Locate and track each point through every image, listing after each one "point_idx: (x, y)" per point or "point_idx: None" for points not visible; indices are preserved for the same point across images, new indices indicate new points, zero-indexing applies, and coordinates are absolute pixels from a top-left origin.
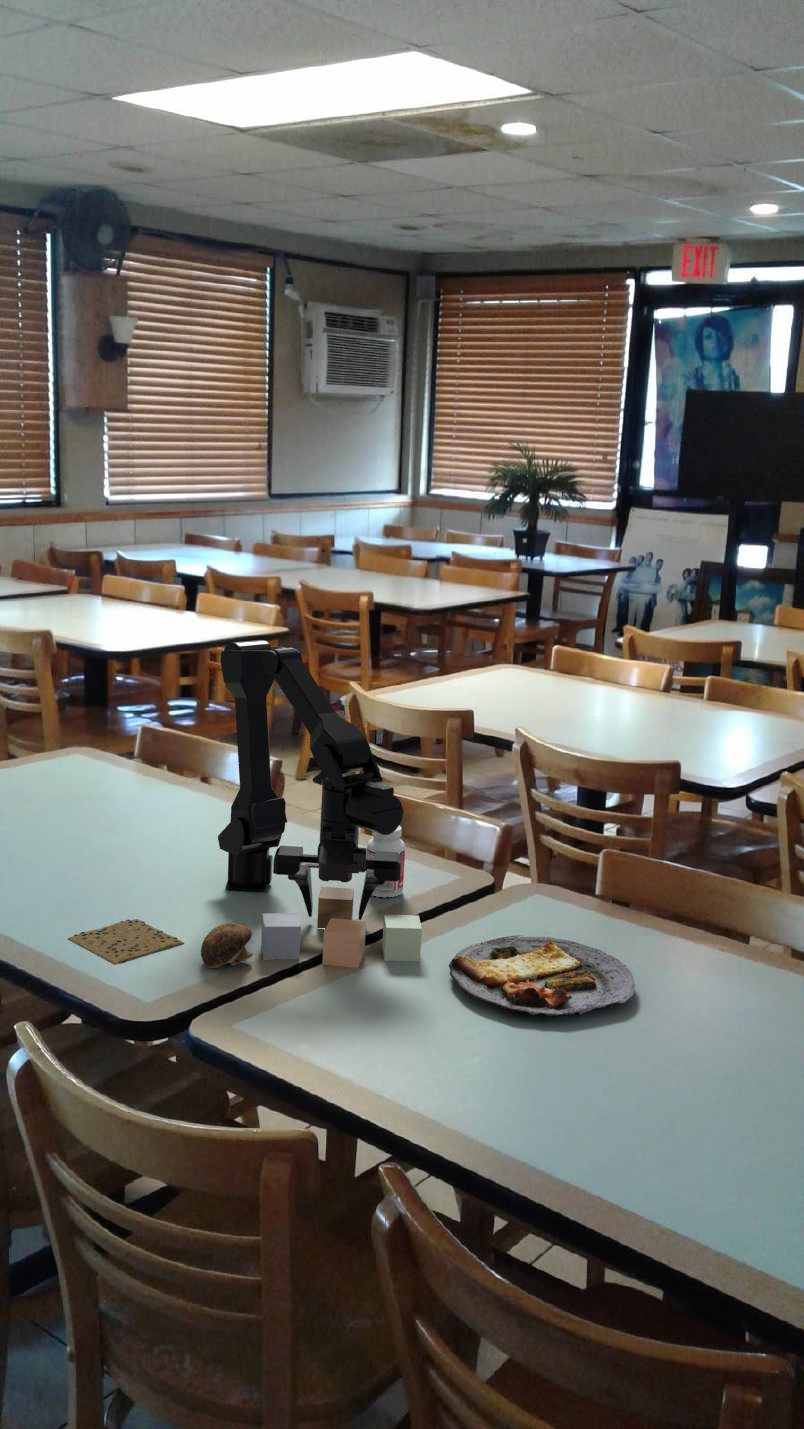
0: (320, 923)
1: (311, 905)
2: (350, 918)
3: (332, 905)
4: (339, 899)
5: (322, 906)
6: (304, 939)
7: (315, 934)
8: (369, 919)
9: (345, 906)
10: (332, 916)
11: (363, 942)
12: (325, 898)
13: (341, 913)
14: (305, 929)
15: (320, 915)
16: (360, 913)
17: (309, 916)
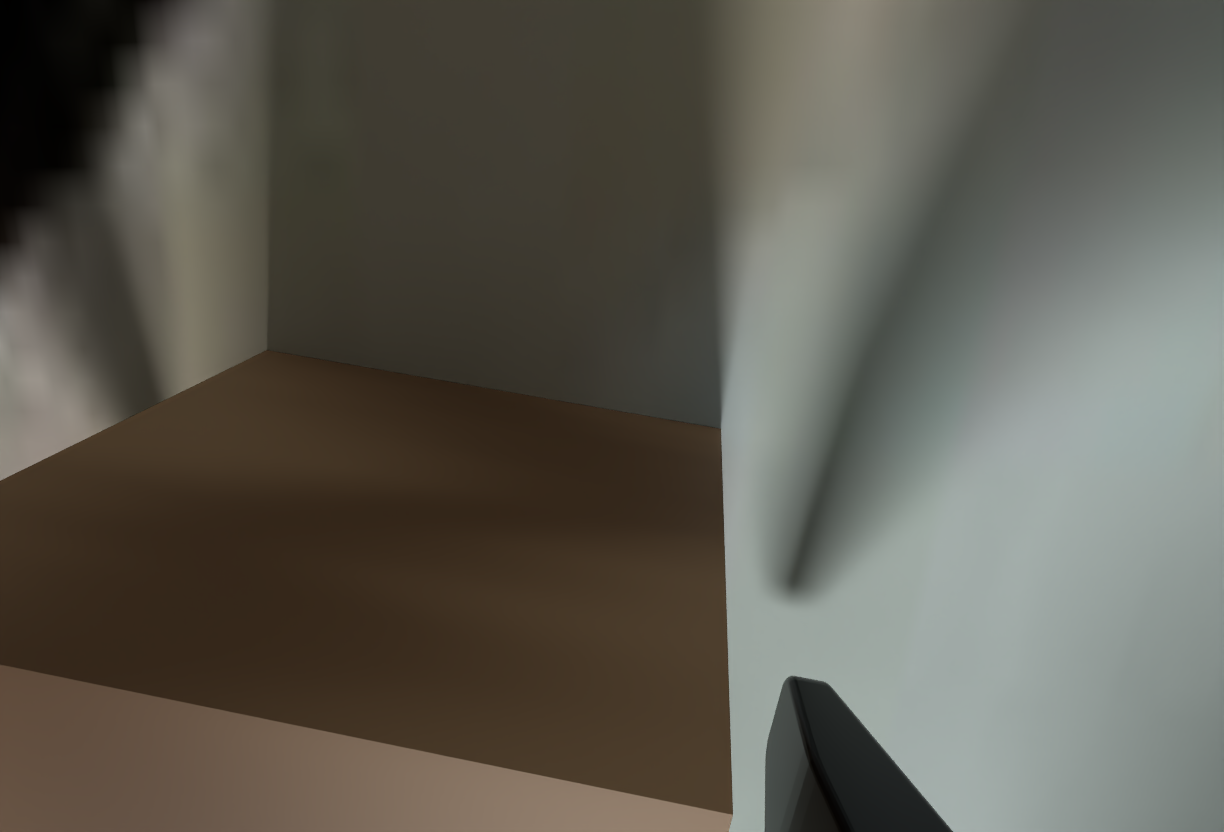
0: (673, 458)
1: (828, 806)
2: (154, 414)
3: (379, 599)
4: (101, 676)
5: (624, 627)
6: (991, 14)
7: (769, 241)
8: None
9: (81, 535)
10: (455, 482)
11: None
12: (514, 768)
13: (265, 482)
14: (890, 435)
15: (673, 518)
16: None
17: (818, 682)
